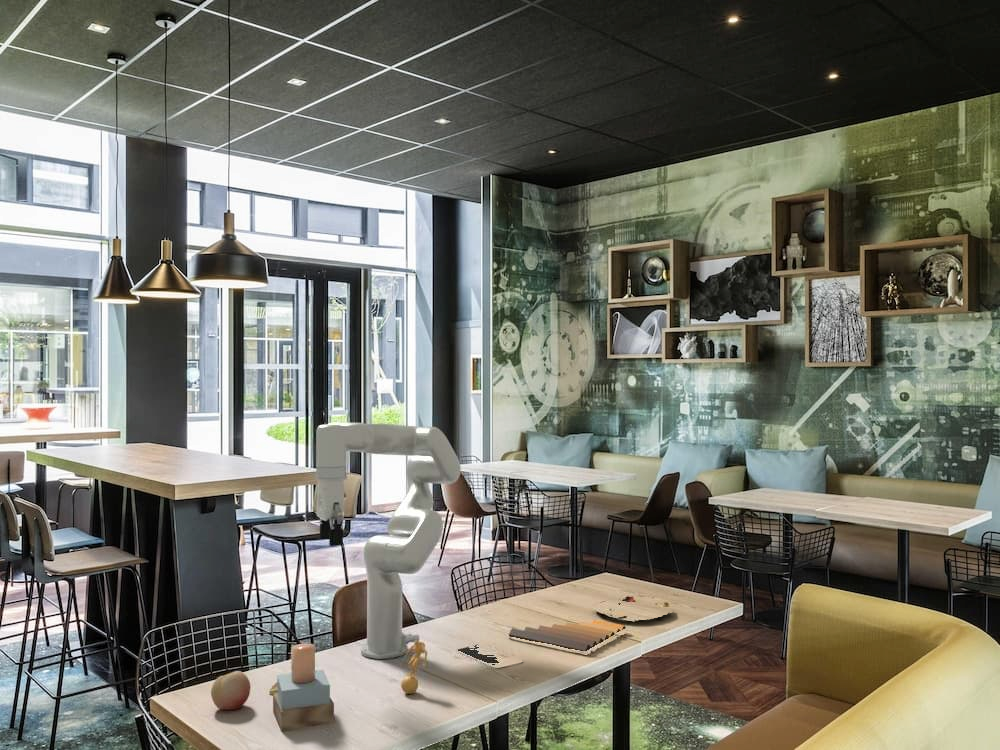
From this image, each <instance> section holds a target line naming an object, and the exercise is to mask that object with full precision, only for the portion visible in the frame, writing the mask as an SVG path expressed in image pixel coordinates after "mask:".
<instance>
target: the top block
mask: <svg viewBox="0 0 1000 750" xmlns="http://www.w3.org/2000/svg"><path fill="white" fill-rule="evenodd" d="M324 670H325V669H317V670H316V669H315V680H313V681H311V682H307V683H294V682H292V680H291V673H283V674H277V678H276V679H277V682H276V683H277V694H278V698H279V702H280V706H281V710H286V709H293V708H301V707H308V706H315V705H322V704H330V698H331V684H330V681H329V679H328V676H327V675H326V672H325V671H324Z"/></svg>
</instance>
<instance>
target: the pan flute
mask: <svg viewBox="0 0 1000 750" xmlns="http://www.w3.org/2000/svg"><path fill="white" fill-rule="evenodd" d="M625 628H627V627H626V626H625V624H621V623H620V624H618V623H614V622H609V621H603V620H597V619H593V620H592V621H591V622H589V621H588V622H587V621H582V620H580V621H579V623H578V624H577V623H574V622H573V623H572V622H566V624H565V625H561V624H558V623H553V624H552V626H551V627H550V626H546V625H542V624H541V625H539V626H538V628H533V627H529V626H525V628H524V630H522V629H517V628H511V629H510V631H509V633H508V637H509V636H510V637H516V638H520V639H525V640H529V641H535V642H541V643H547V644H552V645H556V646H560V647H564V648H568V649H575V650H580V651H587V650H589V649H590V648H592V647H594V646H595V645H597V644H599V643H601V642H603V641H604V640H606V639H608V638H609V637H611V636H613V635H614V634H615V633H617V632H619V631H621V630H623V629H625Z"/></svg>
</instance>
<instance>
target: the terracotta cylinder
mask: <svg viewBox="0 0 1000 750" xmlns="http://www.w3.org/2000/svg"><path fill="white" fill-rule="evenodd" d="M290 649H291V651H290V653H291V658H290V659H291V660H290V661H291V662H290V664H291V666H290V669H291V680H292V682H294V683H307V682H311V681H313V680H315V670H316V646H315V644H314V643H309V642H308V643H307V642H306V643H298V644H294V645H292V646H291V648H290Z"/></svg>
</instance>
